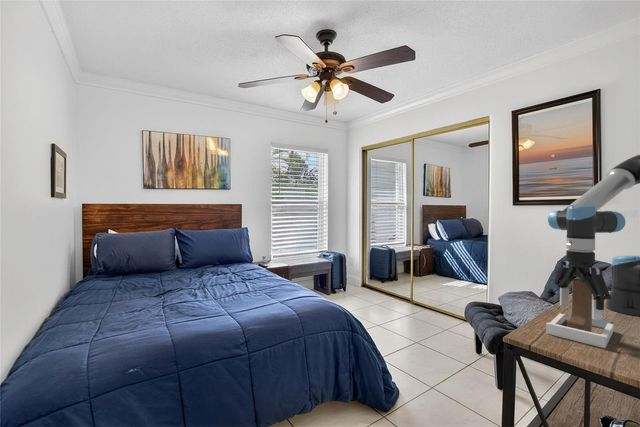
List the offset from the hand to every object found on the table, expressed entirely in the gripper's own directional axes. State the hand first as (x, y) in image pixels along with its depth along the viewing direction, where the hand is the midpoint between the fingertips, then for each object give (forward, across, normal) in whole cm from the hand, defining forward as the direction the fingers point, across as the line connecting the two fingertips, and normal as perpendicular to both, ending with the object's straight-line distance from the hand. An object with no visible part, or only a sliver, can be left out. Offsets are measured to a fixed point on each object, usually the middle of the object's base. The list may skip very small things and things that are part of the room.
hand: (579, 312), depth 105 cm
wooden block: (+8, 0, 0) cm, 8 cm away
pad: (+7, -11, +12) cm, 18 cm away
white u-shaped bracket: (+7, -1, +1) cm, 7 cm away
